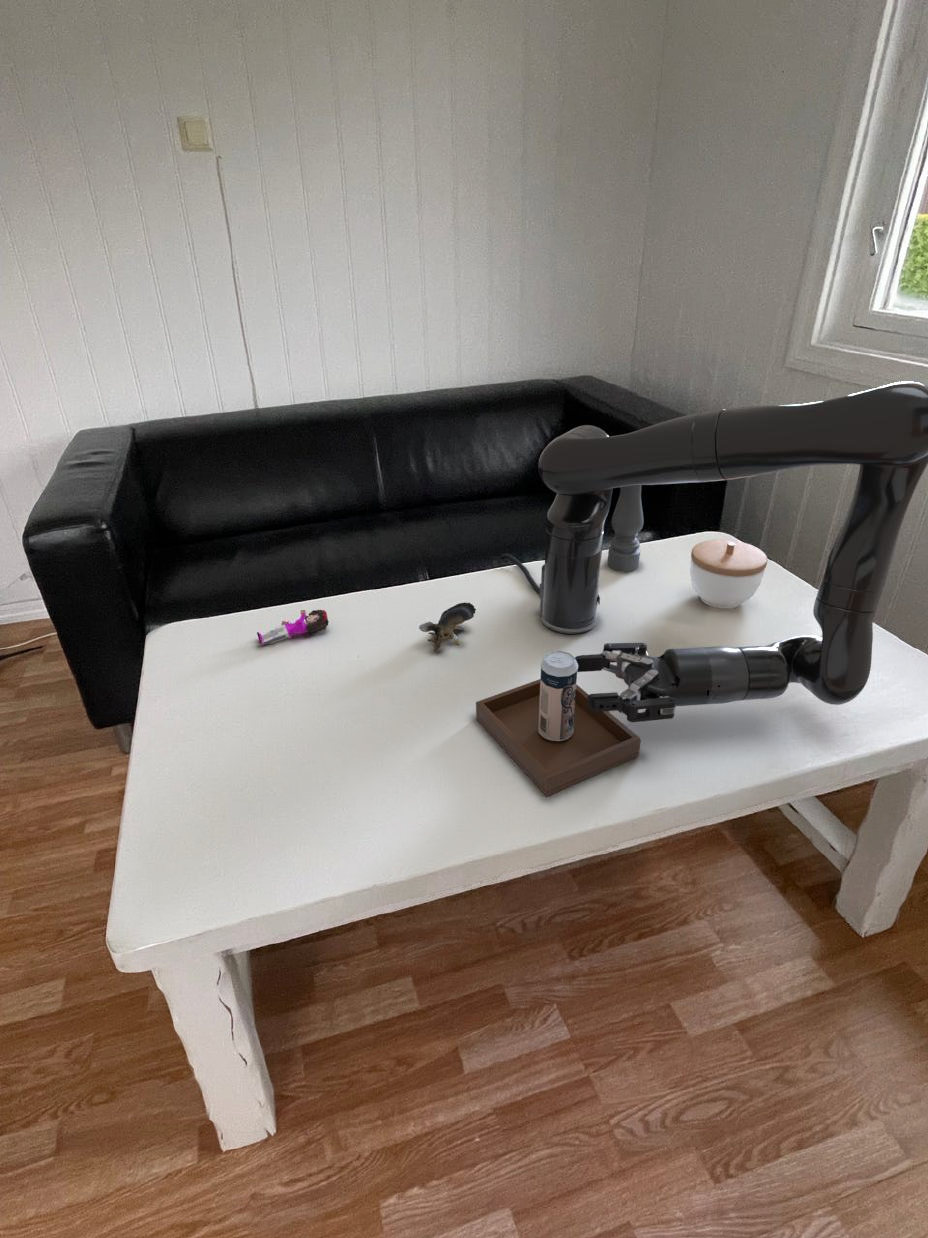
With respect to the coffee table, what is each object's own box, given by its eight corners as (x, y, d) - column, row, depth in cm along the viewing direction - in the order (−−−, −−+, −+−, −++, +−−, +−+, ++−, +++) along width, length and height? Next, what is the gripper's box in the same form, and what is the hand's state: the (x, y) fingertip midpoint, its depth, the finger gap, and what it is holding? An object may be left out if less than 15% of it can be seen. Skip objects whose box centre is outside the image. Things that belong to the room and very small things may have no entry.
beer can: (572, 746, 92) (577, 671, 86) (536, 741, 93) (539, 668, 87) (574, 723, 96) (579, 650, 90) (539, 719, 97) (543, 647, 91)
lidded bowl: (753, 586, 131) (764, 531, 125) (761, 620, 120) (775, 562, 114) (683, 580, 133) (691, 527, 128) (685, 613, 123) (695, 556, 117)
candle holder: (641, 561, 141) (656, 438, 128) (634, 574, 136) (649, 448, 123) (611, 556, 143) (623, 435, 130) (603, 568, 138) (614, 444, 125)
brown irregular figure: (466, 653, 111) (486, 618, 117) (439, 621, 109) (461, 586, 115) (433, 664, 116) (454, 629, 122) (407, 633, 114) (429, 599, 120)
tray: (475, 718, 99) (475, 701, 97) (560, 687, 105) (561, 671, 103) (546, 797, 86) (547, 779, 84) (638, 756, 91) (641, 738, 90)
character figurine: (264, 656, 116) (334, 633, 119) (255, 631, 113) (326, 607, 116) (259, 640, 120) (326, 618, 123) (250, 615, 118) (319, 593, 121)
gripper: (688, 623, 96) (571, 629, 95) (729, 684, 83) (595, 692, 83) (681, 668, 100) (568, 674, 99) (719, 733, 87) (591, 740, 87)
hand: (581, 682), depth 91 cm, fingers open, 8 cm apart
